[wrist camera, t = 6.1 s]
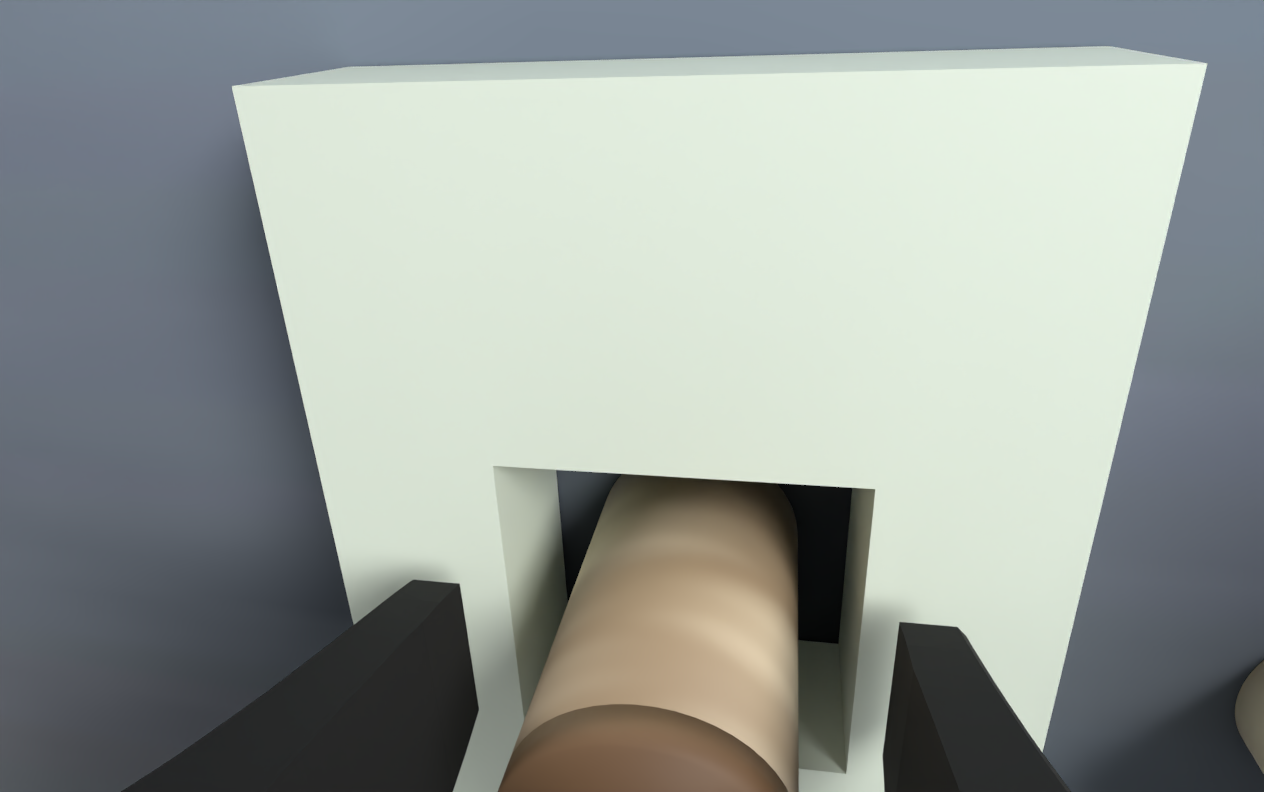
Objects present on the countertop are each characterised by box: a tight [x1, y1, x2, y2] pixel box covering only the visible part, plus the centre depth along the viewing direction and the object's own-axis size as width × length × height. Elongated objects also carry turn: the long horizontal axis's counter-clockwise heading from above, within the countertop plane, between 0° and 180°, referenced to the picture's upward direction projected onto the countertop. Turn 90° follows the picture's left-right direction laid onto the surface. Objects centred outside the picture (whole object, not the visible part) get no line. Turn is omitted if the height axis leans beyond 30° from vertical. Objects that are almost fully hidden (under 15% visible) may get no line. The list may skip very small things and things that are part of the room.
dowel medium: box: [498, 474, 799, 792], centre depth 10 cm, size 3×3×6 cm
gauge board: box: [232, 46, 1207, 792], centre depth 12 cm, size 9×13×2 cm
